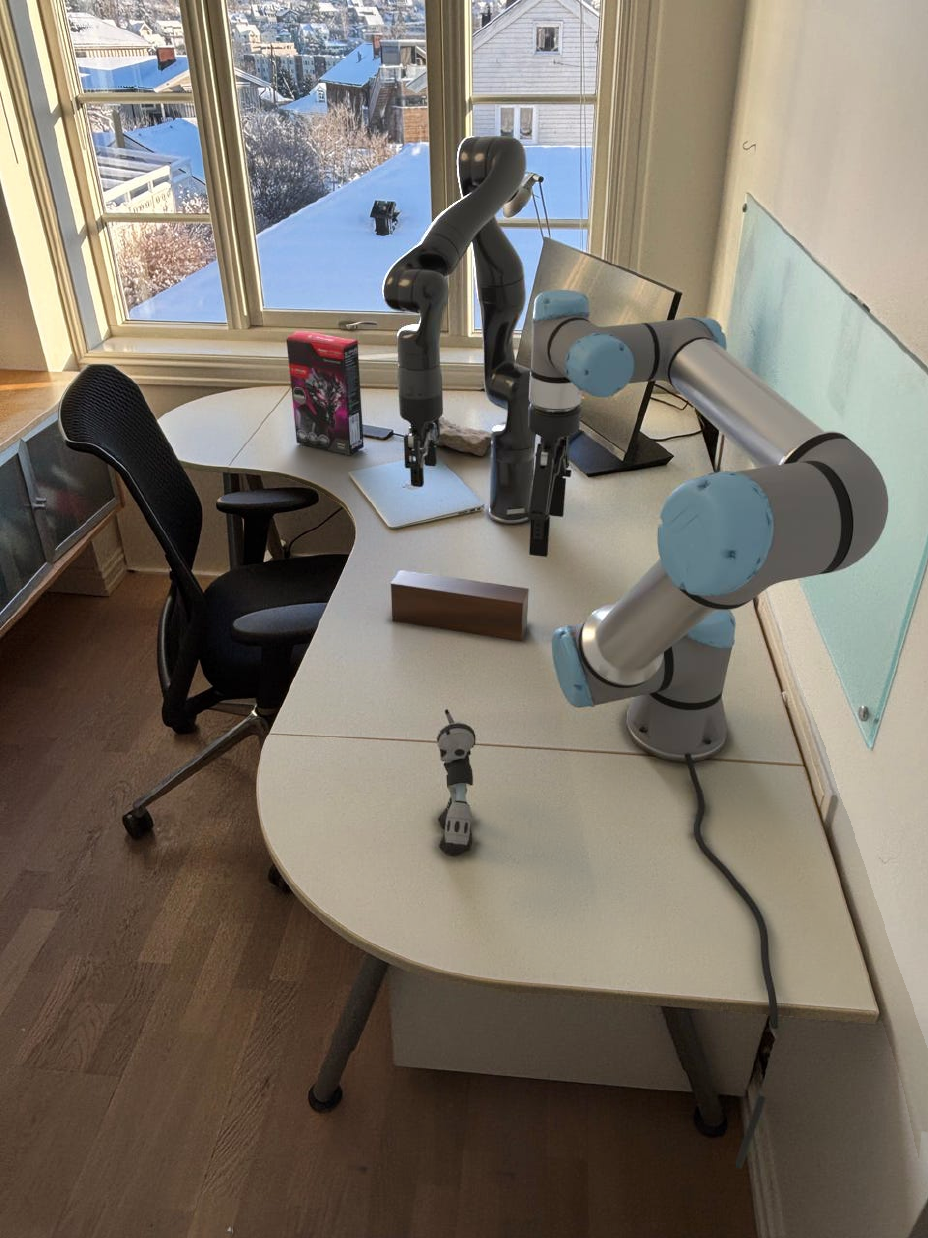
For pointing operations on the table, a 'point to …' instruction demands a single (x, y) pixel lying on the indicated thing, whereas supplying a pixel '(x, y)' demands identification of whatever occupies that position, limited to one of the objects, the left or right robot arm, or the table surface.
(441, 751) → the robot
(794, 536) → the right robot arm
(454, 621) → the walnut beam
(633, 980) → the table surface
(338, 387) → the graphics card box
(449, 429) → the stone
